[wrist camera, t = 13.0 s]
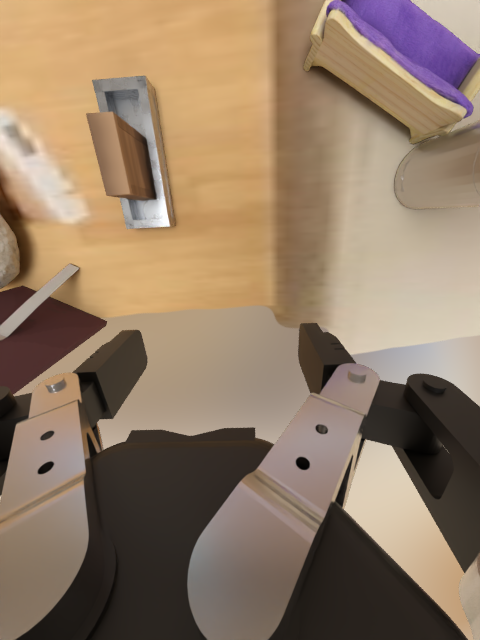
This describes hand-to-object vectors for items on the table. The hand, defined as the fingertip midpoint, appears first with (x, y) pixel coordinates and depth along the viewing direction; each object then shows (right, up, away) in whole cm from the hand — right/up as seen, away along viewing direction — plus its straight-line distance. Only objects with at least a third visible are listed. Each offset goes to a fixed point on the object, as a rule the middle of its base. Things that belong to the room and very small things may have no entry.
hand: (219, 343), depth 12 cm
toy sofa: (+20, +35, +21) cm, 46 cm away
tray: (-14, +26, +25) cm, 39 cm away
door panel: (-14, +24, +25) cm, 37 cm away
